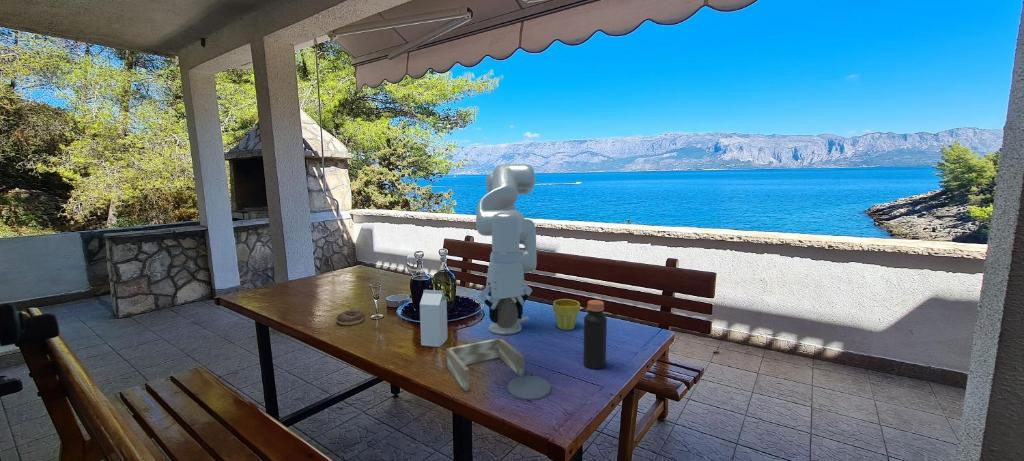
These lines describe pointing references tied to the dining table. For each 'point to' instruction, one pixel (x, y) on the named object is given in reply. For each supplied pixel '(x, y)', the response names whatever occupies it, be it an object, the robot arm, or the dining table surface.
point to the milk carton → (433, 318)
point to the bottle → (595, 335)
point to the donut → (350, 317)
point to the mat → (529, 387)
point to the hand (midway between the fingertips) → (506, 319)
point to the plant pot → (566, 313)
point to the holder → (481, 358)
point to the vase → (506, 313)
